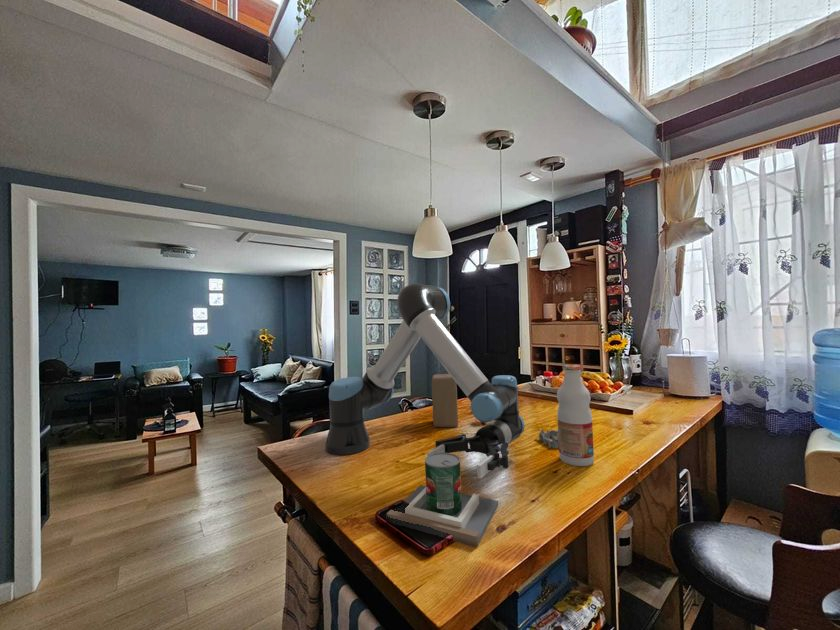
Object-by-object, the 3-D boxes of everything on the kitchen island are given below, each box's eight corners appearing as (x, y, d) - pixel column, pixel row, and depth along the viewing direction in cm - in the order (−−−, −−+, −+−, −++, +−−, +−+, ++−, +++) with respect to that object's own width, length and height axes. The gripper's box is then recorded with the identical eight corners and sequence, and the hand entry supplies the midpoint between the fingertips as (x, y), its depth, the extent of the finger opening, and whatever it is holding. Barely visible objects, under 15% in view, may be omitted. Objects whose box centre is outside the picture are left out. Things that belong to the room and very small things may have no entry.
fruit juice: (555, 453, 107) (551, 363, 107) (588, 454, 105) (583, 363, 106) (563, 466, 97) (559, 368, 98) (599, 467, 96) (594, 367, 96)
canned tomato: (420, 505, 78) (418, 457, 78) (449, 496, 81) (447, 449, 82) (438, 523, 71) (435, 469, 71) (469, 512, 74) (467, 461, 75)
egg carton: (536, 439, 121) (536, 427, 121) (557, 437, 122) (556, 426, 122) (549, 449, 110) (549, 437, 111) (572, 448, 111) (571, 435, 111)
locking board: (386, 522, 73) (386, 508, 73) (420, 488, 88) (420, 477, 88) (477, 547, 64) (476, 531, 64) (498, 505, 79) (497, 492, 79)
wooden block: (458, 420, 146) (456, 373, 146) (458, 427, 136) (456, 377, 137) (434, 420, 147) (432, 373, 147) (433, 427, 137) (431, 377, 138)
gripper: (538, 460, 88) (504, 496, 71) (455, 442, 103) (411, 468, 86) (536, 431, 88) (502, 460, 71) (454, 417, 103) (410, 438, 87)
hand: (452, 464), depth 79 cm, fingers open, 13 cm apart
